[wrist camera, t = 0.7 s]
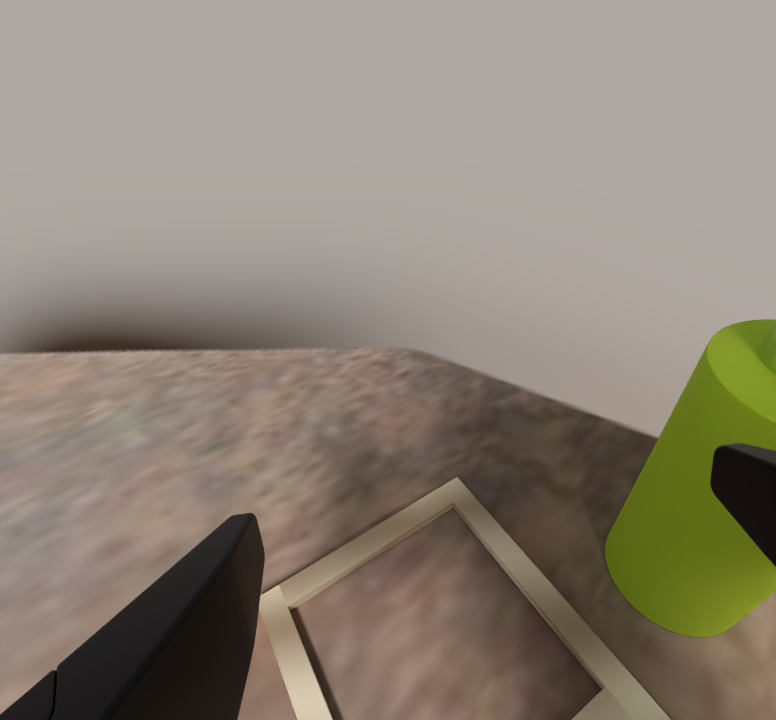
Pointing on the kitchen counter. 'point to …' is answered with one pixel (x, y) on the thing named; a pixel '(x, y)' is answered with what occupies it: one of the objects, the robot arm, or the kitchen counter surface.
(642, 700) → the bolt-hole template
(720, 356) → the soap dispenser
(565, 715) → the kitchen counter surface
